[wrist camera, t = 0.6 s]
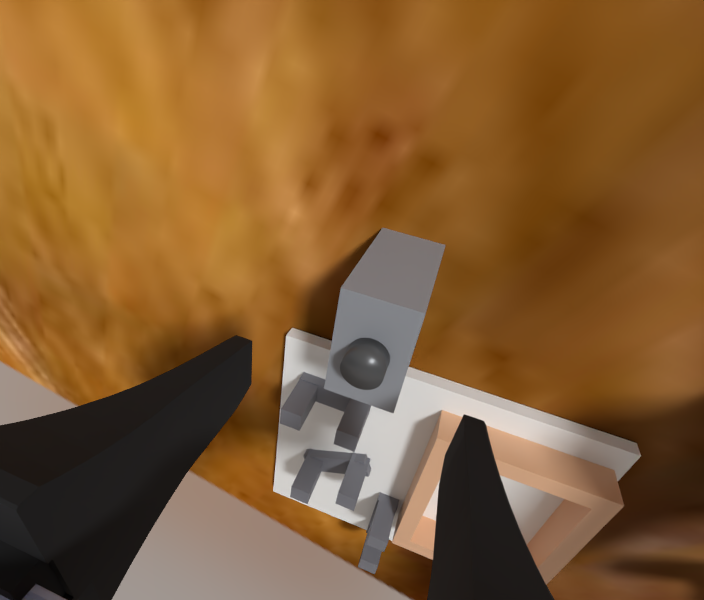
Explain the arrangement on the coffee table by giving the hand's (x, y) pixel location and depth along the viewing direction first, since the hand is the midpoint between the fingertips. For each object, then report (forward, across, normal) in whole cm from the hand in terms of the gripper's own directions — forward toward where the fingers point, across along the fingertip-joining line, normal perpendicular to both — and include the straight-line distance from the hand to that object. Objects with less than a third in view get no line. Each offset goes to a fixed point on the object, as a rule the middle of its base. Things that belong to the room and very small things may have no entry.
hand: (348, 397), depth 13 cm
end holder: (+7, -9, +12) cm, 17 cm away
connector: (+8, 0, 0) cm, 8 cm away
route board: (+8, -4, +13) cm, 16 cm away
